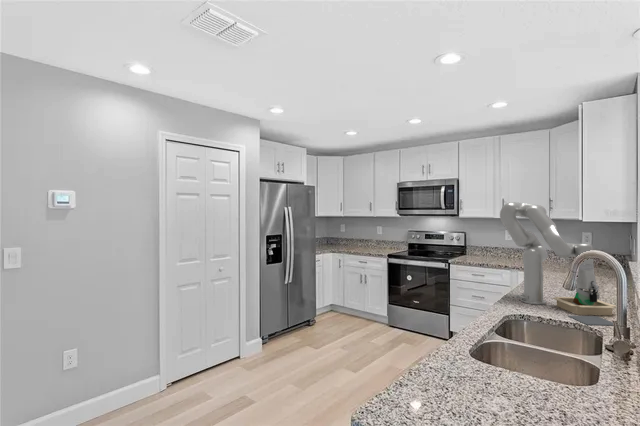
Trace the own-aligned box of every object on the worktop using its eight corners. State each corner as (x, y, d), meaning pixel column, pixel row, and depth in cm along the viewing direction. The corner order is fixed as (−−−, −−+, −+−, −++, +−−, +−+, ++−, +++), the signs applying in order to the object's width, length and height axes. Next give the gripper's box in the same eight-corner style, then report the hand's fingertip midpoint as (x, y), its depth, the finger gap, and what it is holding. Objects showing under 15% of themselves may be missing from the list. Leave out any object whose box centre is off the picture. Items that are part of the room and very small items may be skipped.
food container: (578, 310, 182) (587, 294, 179) (569, 304, 188) (577, 287, 185) (597, 313, 185) (606, 297, 182) (587, 306, 190) (596, 290, 187)
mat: (586, 325, 161) (586, 324, 161) (567, 316, 175) (567, 315, 175) (619, 325, 160) (619, 325, 160) (597, 316, 174) (597, 316, 174)
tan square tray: (574, 315, 176) (574, 306, 176) (549, 304, 198) (549, 296, 198) (621, 316, 174) (621, 307, 174) (590, 305, 196) (590, 297, 196)
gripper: (567, 265, 195) (569, 296, 194) (588, 269, 177) (590, 303, 177) (581, 265, 194) (583, 296, 193) (604, 268, 177) (606, 303, 176)
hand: (587, 300), depth 185 cm, fingers open, 9 cm apart
